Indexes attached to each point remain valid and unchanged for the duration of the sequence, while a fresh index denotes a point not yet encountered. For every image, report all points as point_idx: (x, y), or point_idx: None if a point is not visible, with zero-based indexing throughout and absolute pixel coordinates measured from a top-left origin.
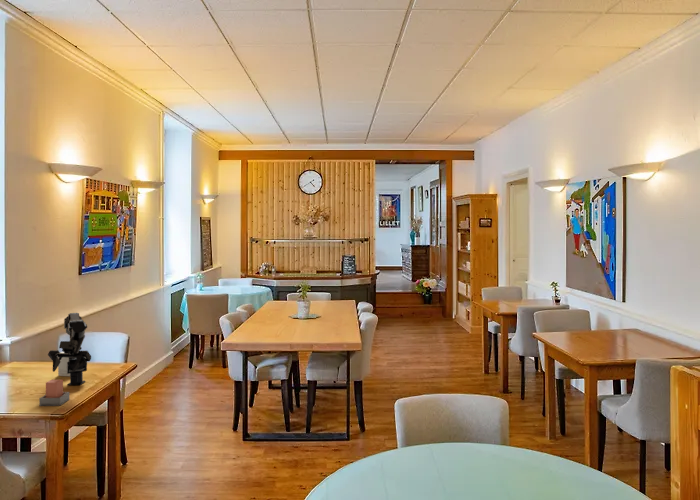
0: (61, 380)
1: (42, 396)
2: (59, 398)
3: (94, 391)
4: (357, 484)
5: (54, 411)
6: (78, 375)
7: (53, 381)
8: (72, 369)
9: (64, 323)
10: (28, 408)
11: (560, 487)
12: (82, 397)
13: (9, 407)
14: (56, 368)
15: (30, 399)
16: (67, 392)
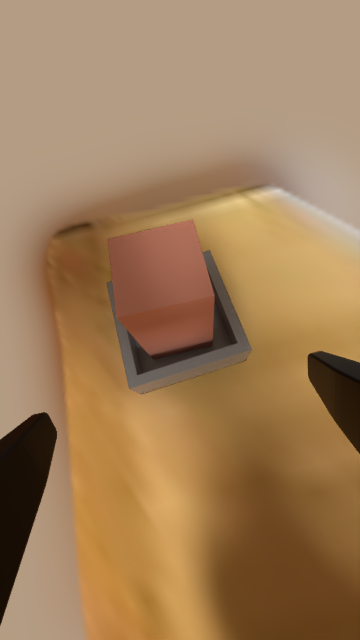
0: (114, 298)
1: (220, 276)
2: (110, 283)
3: (85, 607)
4: None
5: (97, 245)
6: None
7: (156, 255)
8: (30, 422)
9: None
10: (231, 240)
11: None
12: (91, 446)
13: (325, 226)
14: (352, 441)
15: (353, 336)
16: (132, 375)
